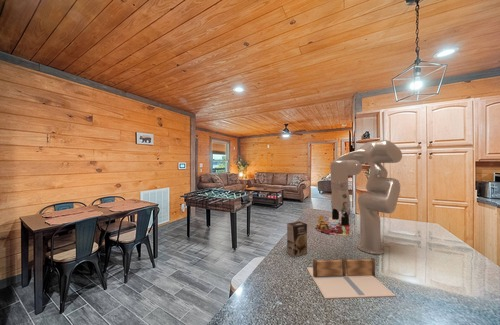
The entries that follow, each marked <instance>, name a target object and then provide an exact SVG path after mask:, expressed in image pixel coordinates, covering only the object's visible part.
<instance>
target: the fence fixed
mask: <svg viewBox="0 0 500 325" xmlns="http://www.w3.org/2000/svg"><path fill="white" fill-rule="evenodd" d="M346 260H347V259H345V258H342V259H329V260H327V259H326V260H321V259H320V260H317V259H312V267H313V276H314V277H317V276H342V275H343V276H346Z"/></svg>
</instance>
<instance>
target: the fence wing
mask: <svg viewBox="0 0 500 325" xmlns="http://www.w3.org/2000/svg"><path fill="white" fill-rule="evenodd" d="M375 262H376V260H375V257H374V258H373V257H371V258H361V259H357V258H356V259H346V274H347V275H373V276H376V263H375Z"/></svg>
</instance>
